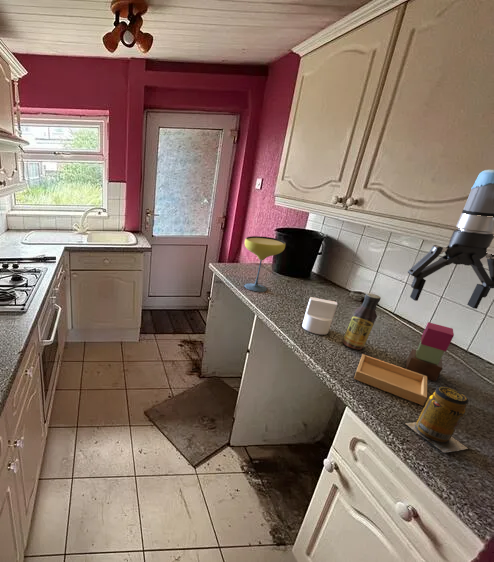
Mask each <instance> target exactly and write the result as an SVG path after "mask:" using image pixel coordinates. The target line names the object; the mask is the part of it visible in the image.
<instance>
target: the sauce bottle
mask: <svg viewBox="0 0 494 562" xmlns="http://www.w3.org/2000/svg"><path fill="white" fill-rule="evenodd" d="M363 299H364V300H363V302H362V304H361V305H360V306H359V307H357V308H356V309H355V311H354V314H353V315H352V317H351V319H350V321H349V324H348V327H347V329H346V331H345V334H344V336H343V339H342V343H343V345H344V346H346V347H348V348H350V349H354V350H357V351H358V350H362V349H363V348H364V347H365V345H366V343H367V340H368V338H369V336H370V334H371V332H372V329H373V327H374V325H375V321H376V319H377V318H378V314H377V311H376V310H377V306H378V304H379V303H380V301H381V296H379V295H377V294H374V293H370V292H369V293H366V294H365V295H364V298H363Z"/></svg>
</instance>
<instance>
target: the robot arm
mask: <svg viewBox="0 0 494 562" xmlns="http://www.w3.org/2000/svg"><path fill="white" fill-rule="evenodd" d="M477 215H481V216H477ZM487 216H493V217H487ZM455 227H456V228H457V229H456V228H455V230H453V231H452V233H451V236H450V238H449V243H448V244H447V246H445V247H444V246H441V245H438V244H433V245H432V247H431V248H430V250H429V252H427V254H425V255H424V256H423V257H421V258H420V260H419V261H418V262H417V263H415V264H414V265H413V266H412V267H411V268H410V269H408V270H407V274H409V275H410V276H412V277H413V280H412V282H411V285H410V287H411V288H412V291H411V293H410V295H409V298H410V299H412V300H413V301H415V302H418V301H419V298H420V296H421V294H422V292H423V289H424V286H425V284H426V282H427V280H426V279H425V278H427V277H429V276H430V275H432V274H434V273H436V272H438V271H439V270H441V269H443V268H444V267H447V266H450V265H452V264H453V265H464V266H467V267H468V266H471V268H472V270H473V271H474V273H475V275H476V276H477V278H478V279H479V281H480V283H476V286H474V287H475V288H474V289H473V291H472V294H471V296H470V298H469V300H468V302H467V304H466V305H467V306H468V307H470V308H472V309H473V310H477V309H478V308H479V305H480V303H481V302H482V299H483V298H486V297H488V294H489V293H490V290H491V289H494V255H492V254H488V253H486V252H487V251H488V248H490V246H491V244H492V242H493V240H494V236H493V235H494V169H485V170H482V171H481V172H479V174H478V176H477V178H476V179H475V182H474V183H473V185H472V186H471V188H470V192H469V195H468V197H467V199H466V202H465V204H464V207H463V209H462V211H461V213H460V215H459V218H458V219H457V223H456V225H455ZM443 253H444V255H442V254H443ZM440 255H442V256H441V257H440V258H439V256H440ZM437 258H438V259H437ZM483 258H486V262H487V267H488V272H487V270H486V268H484V264H483V261H481V259H483ZM436 259H437V260H436Z"/></svg>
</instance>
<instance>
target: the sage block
mask: <svg viewBox="0 0 494 562" xmlns="http://www.w3.org/2000/svg"><path fill="white" fill-rule="evenodd" d="M416 350H417V351H416V358H418V359H421V360H424V361H427V362H431V363H434V364H437V365H438V364H439V362H440V360H441V358H442V357H443V355H444V353H445V351H443V350H440V349H436V348H433V347H430V346H426V345H423V344H421V341H420V342H419V343H418V346H417V349H416Z"/></svg>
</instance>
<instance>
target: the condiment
mask: <svg viewBox="0 0 494 562" xmlns="http://www.w3.org/2000/svg"><path fill="white" fill-rule="evenodd" d="M467 404H469V398H467V397H466V395H465V394H463V393H461V391H458V390H456V389H453V388H450V387H448V386H447V387H446V386H438V387H436V389H435V391H434V392H433V394H430V395H429V397H428V398H427V400H426V401H425V404H424V407H423V408H422V410H421V412H420V414H419V416H418V419H417V420H416V421H415V422H405V423H404V424H405V425H406V426H408V428H410V429H411V430H412V431H414V432H415V433H416V434H417V435H419V437H422V438H423V439H425V440H426V441H428V443H430V444H431V445H433V446H434V447H435V448H437V449H438V450H440V451H441V453H451V452H459V451H464V450H468V449H469V448H468V447H467V446H466V445H464V444H463V443H461V442H460V441H459V440H457V439H456V438H454V437H453V435H454V433H455V431H456V430H457V427H458V426H459V424H460V423H461V421H462V419H463V417H464V415H465V414H466V408H467Z"/></svg>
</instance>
